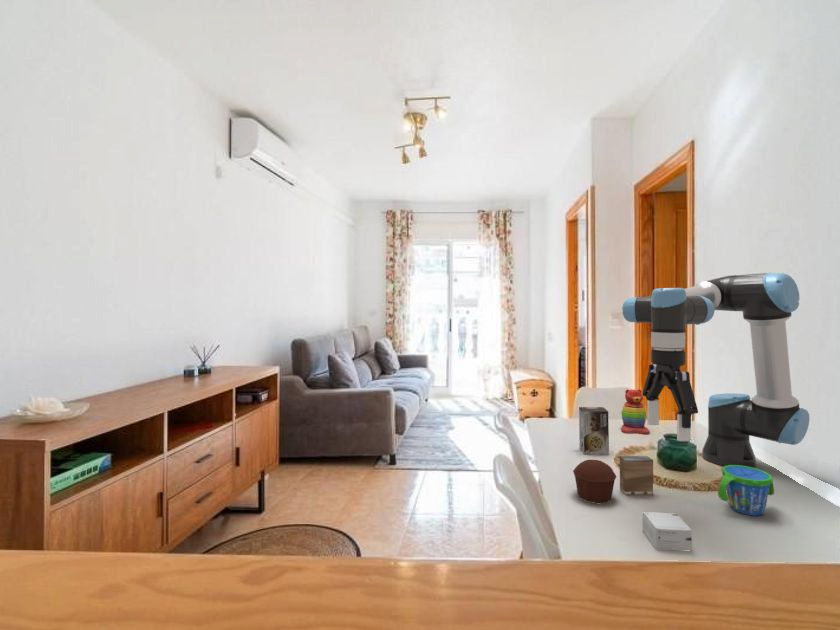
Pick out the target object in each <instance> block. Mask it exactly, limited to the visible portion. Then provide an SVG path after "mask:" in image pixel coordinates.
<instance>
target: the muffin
mask: <svg viewBox="0 0 840 630" xmlns="http://www.w3.org/2000/svg"><path fill="white" fill-rule="evenodd" d="M572 472H573V475H574V479H575V485H576V491H577V495H578V496H579V499H581V498H582V500H584V501H585V500H586V501H585V502H588V503H592V502H594V503H593V504H597V503H600V504H608V503H609V502H608V501H611V500H612V497H613V492H614V491H613V490H614V486H615V481H616V478H617V475H616V473H615V472H614V470H613V469H612V467H611V466H610V465H609V464H607V463H606V462H603V461H602V460H599V459H585V460H583V461H581V462H579V464H578V465H576V466H575V468H574V470H573V471H572Z"/></svg>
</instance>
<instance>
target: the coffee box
mask: <svg viewBox="0 0 840 630" xmlns="http://www.w3.org/2000/svg"><path fill="white" fill-rule="evenodd" d="M578 422H579V424H578V426H579V427H578V429H579V430H578V431H579V436H578V437H579V440H578V441H579V444H578V445H579V450H580V451H581V453H582V452H583V453H582V454H583V455H610V435H609V433H610V431H609V411H608V410H607V409H606V408H605V407H603V406H579V407H578Z"/></svg>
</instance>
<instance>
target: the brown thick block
mask: <svg viewBox="0 0 840 630" xmlns="http://www.w3.org/2000/svg"><path fill="white" fill-rule="evenodd" d="M619 490H620V492H622V493H623V494H624V495H627V496H629V495H631V496H633V495H635V496H636V495H638V496H639V495H640V496H641V495H646V496H647V495H650V496H651V495H654V459H653V458H651V457H649V456H648V455H620V456H619Z"/></svg>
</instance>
